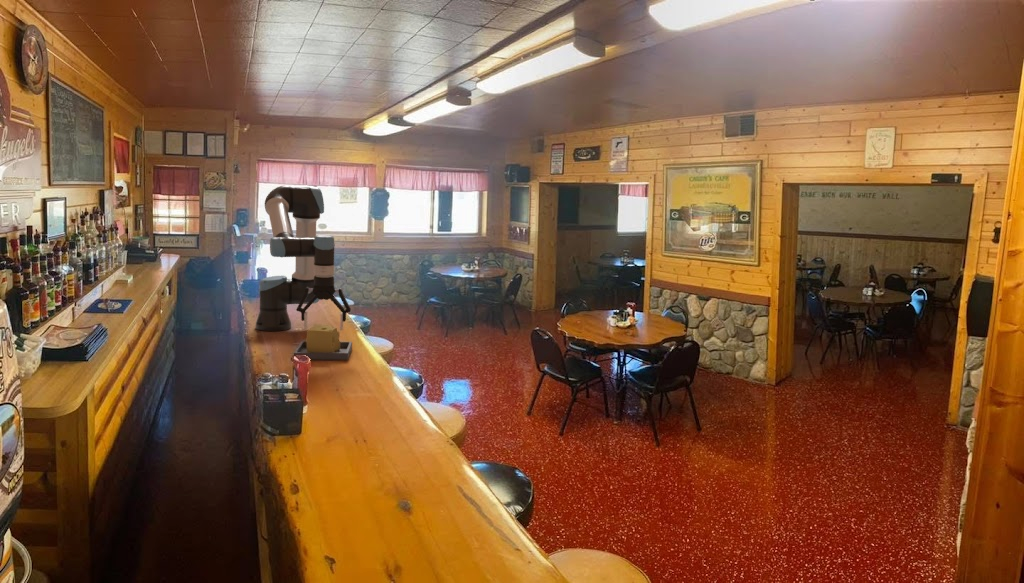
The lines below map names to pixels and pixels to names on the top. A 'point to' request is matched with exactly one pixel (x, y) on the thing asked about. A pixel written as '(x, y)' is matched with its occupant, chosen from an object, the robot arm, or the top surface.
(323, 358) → the tray
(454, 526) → the top surface
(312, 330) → the cheese
